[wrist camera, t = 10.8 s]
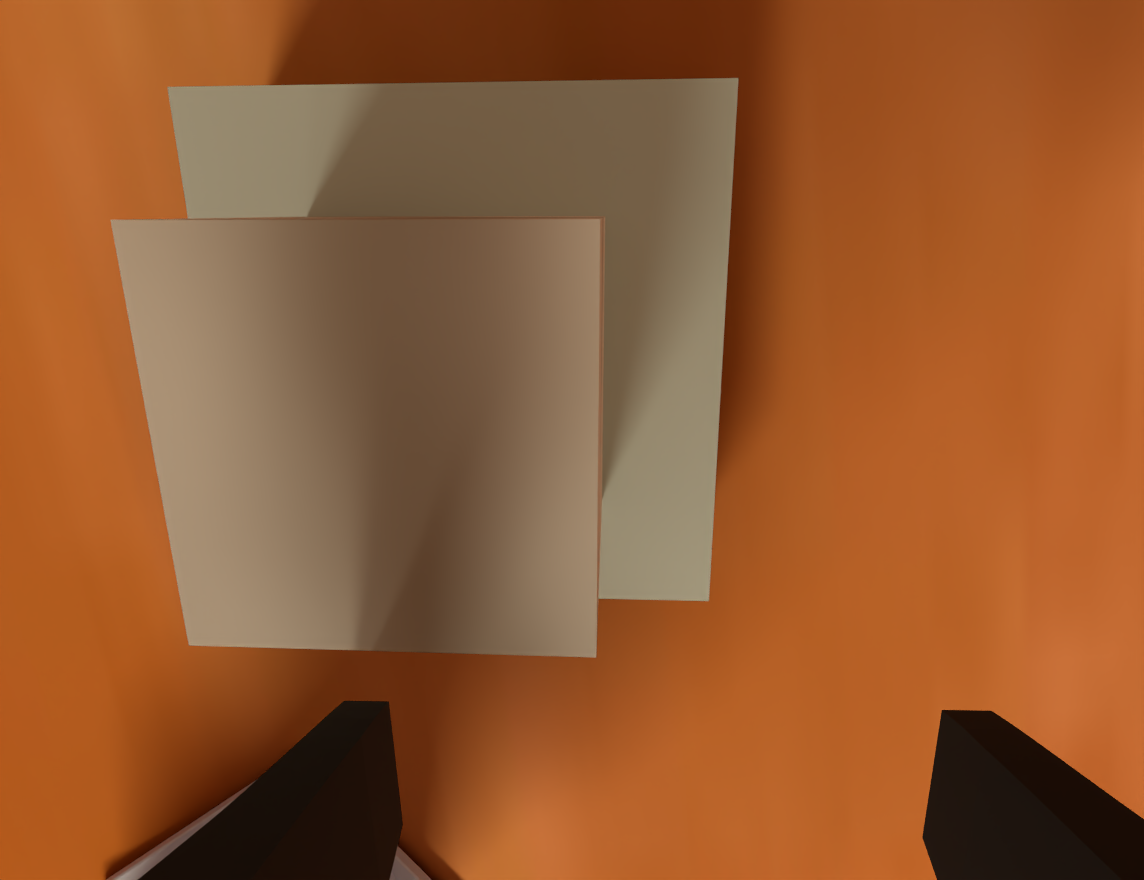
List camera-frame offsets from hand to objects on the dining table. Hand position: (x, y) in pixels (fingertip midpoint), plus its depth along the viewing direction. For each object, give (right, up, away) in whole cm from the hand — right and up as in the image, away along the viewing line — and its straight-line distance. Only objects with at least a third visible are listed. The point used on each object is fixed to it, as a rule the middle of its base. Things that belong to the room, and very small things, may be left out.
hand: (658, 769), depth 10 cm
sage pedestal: (-3, +7, +8) cm, 11 cm away
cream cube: (-3, +6, +4) cm, 8 cm away
